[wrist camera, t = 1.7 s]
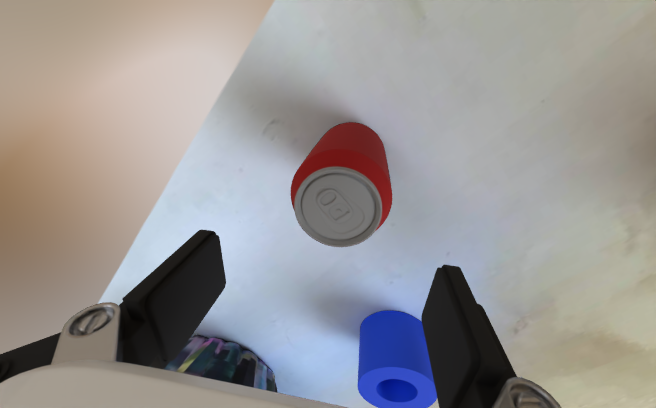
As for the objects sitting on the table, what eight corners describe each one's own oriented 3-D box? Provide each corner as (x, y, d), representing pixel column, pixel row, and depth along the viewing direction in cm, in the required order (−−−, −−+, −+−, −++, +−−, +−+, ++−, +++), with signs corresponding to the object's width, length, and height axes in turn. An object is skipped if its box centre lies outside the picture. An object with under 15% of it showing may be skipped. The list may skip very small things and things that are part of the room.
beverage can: (345, 197, 28) (329, 271, 18) (305, 148, 26) (260, 199, 16) (398, 161, 26) (417, 223, 15) (357, 105, 24) (347, 130, 13)
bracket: (349, 337, 39) (344, 393, 32) (380, 300, 34) (382, 356, 28) (461, 387, 40) (479, 451, 33) (504, 358, 36) (535, 425, 29)
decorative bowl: (191, 392, 58) (161, 451, 49) (136, 315, 44) (80, 378, 35) (302, 408, 54) (289, 475, 45) (280, 329, 40) (256, 405, 31)
